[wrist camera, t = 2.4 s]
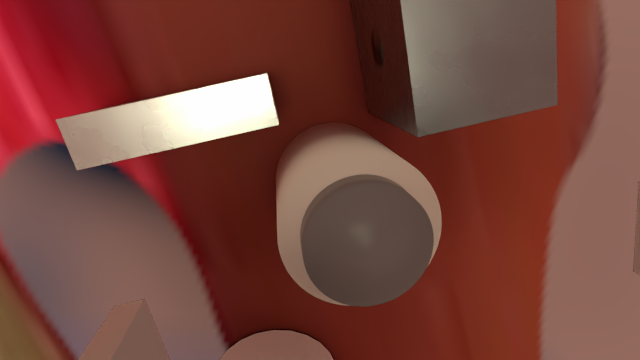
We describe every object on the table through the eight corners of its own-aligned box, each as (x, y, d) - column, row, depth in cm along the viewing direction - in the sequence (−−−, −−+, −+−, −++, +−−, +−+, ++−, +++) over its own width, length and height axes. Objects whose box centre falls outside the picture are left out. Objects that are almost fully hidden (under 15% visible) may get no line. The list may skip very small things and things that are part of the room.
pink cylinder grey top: (289, 241, 21) (300, 344, 13) (263, 136, 19) (256, 184, 12) (394, 216, 21) (464, 302, 14) (377, 110, 20) (447, 140, 12)
